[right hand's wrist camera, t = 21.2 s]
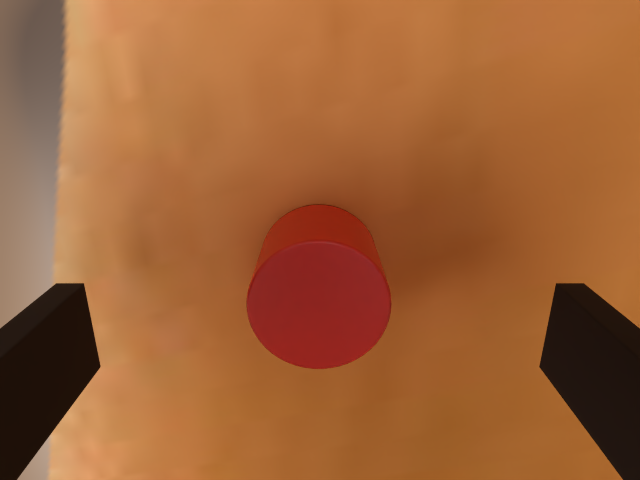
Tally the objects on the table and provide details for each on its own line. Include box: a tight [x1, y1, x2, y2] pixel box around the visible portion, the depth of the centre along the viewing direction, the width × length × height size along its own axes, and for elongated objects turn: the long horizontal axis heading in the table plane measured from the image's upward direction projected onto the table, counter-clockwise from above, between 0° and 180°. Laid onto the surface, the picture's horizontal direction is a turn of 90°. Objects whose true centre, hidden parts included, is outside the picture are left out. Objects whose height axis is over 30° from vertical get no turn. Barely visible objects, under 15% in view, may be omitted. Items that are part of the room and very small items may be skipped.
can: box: [247, 205, 391, 369], centre depth 16 cm, size 5×5×4 cm
